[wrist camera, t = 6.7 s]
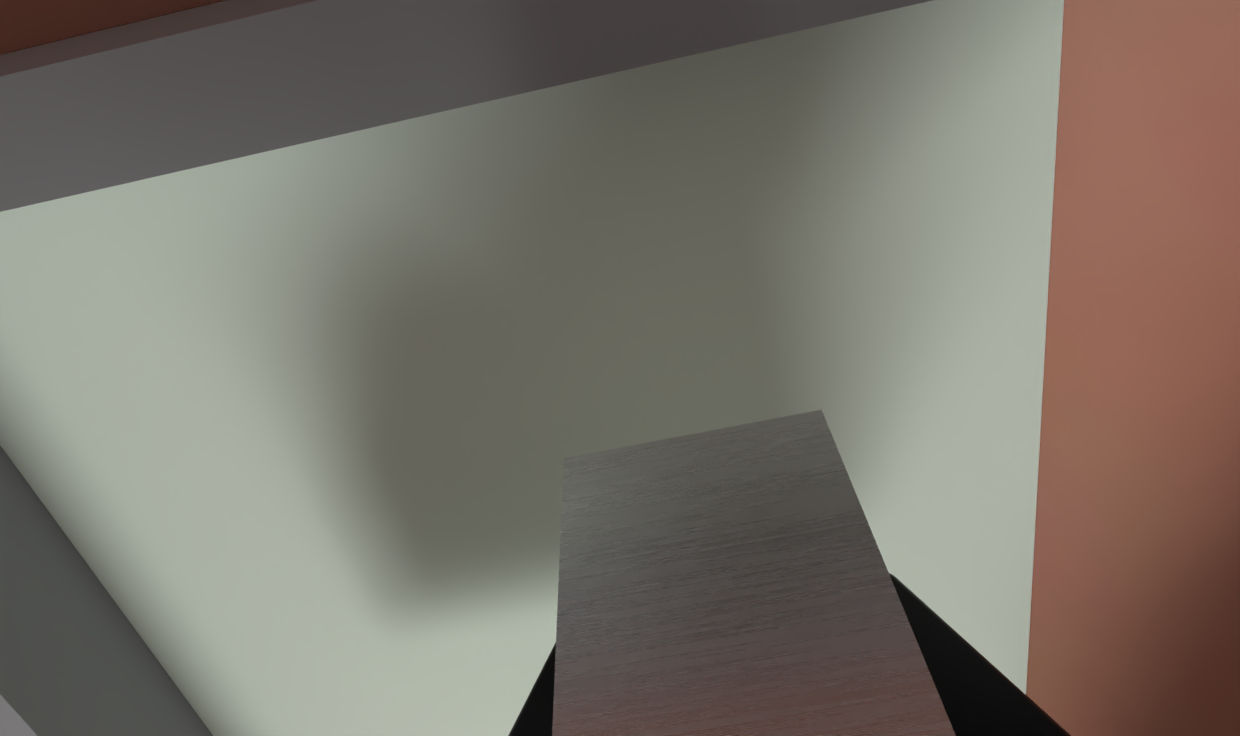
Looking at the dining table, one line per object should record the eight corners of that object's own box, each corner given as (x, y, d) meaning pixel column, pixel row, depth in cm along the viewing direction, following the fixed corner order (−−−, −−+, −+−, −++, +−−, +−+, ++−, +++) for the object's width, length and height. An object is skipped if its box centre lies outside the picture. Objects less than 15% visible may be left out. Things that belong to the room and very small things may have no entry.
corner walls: (1176, -241, 10) (1392, -272, 7) (1075, 725, 19) (1154, 866, 16) (-307, 120, 11) (-575, 202, 8) (263, 855, 20) (216, 1003, 17)
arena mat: (1052, -85, 10) (1067, -82, 10) (1015, 732, 19) (1022, 749, 18) (-153, 194, 12) (-176, 205, 11) (310, 845, 20) (306, 862, 20)
